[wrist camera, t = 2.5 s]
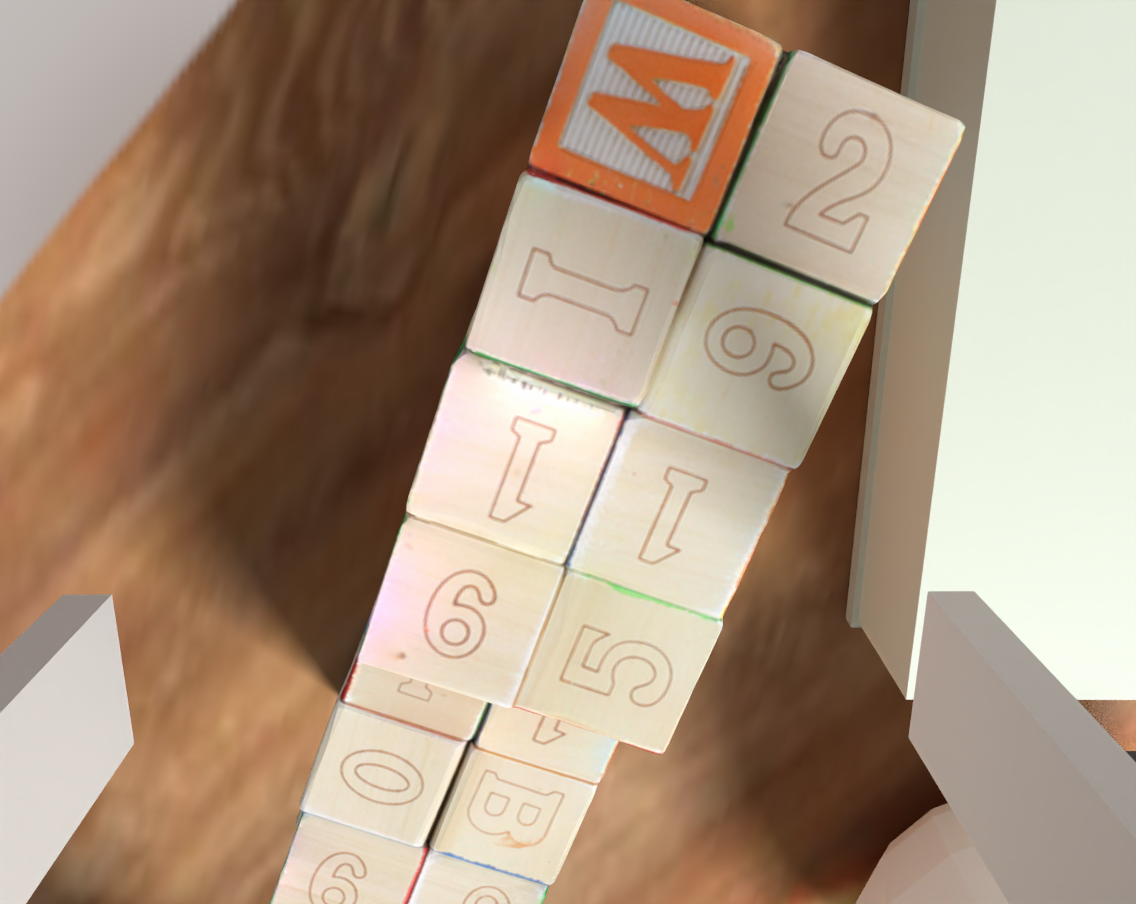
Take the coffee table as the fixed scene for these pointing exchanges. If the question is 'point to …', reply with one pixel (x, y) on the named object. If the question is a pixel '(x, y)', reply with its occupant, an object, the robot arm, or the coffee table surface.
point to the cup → (932, 867)
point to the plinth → (1012, 348)
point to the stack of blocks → (608, 444)
